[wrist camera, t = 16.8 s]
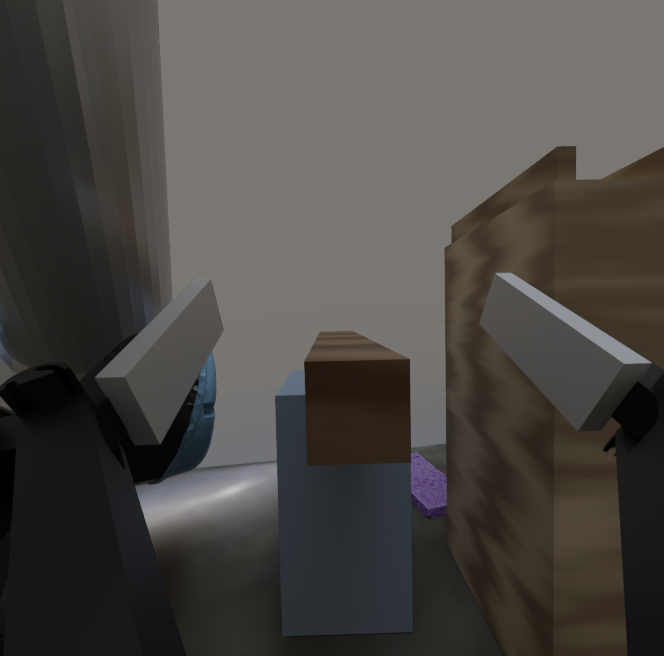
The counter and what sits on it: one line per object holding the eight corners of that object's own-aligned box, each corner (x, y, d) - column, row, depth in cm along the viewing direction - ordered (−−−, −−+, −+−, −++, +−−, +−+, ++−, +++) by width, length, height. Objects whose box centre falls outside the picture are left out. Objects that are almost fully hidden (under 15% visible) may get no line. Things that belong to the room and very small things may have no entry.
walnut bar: (411, 462, 11) (409, 359, 11) (307, 465, 11) (304, 361, 11) (353, 363, 35) (352, 331, 35) (320, 364, 35) (320, 331, 35)
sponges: (416, 462, 48) (416, 451, 48) (475, 510, 36) (475, 496, 36) (379, 470, 46) (379, 459, 45) (428, 524, 34) (428, 508, 34)
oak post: (695, 743, 16) (708, 138, 15) (552, 748, 16) (555, 140, 15) (522, 543, 30) (523, 226, 29) (447, 545, 30) (444, 227, 29)
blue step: (413, 631, 22) (410, 392, 21) (282, 636, 22) (275, 395, 21) (386, 532, 32) (383, 368, 31) (297, 535, 32) (292, 370, 31)
